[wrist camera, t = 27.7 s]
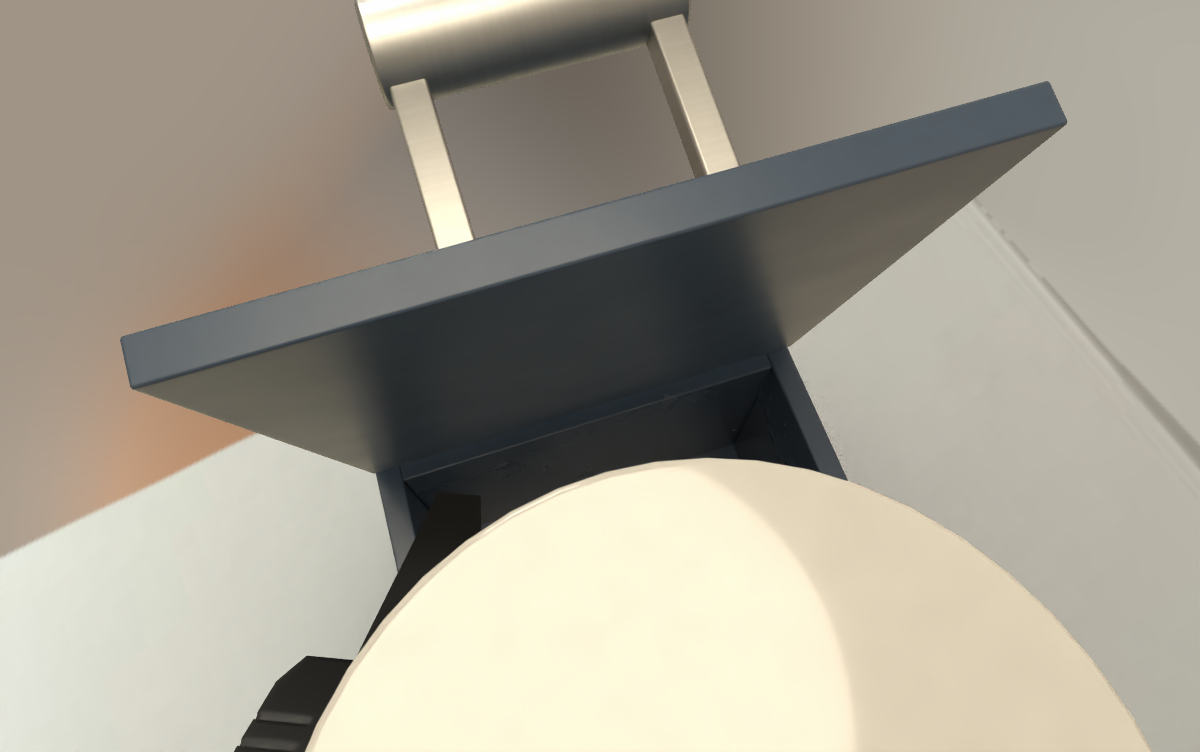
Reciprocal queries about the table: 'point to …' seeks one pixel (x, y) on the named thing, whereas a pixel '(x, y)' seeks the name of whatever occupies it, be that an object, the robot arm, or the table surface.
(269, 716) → the robot arm
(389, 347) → the box lid
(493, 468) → the grey box
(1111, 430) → the table surface
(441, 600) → the beige canister
